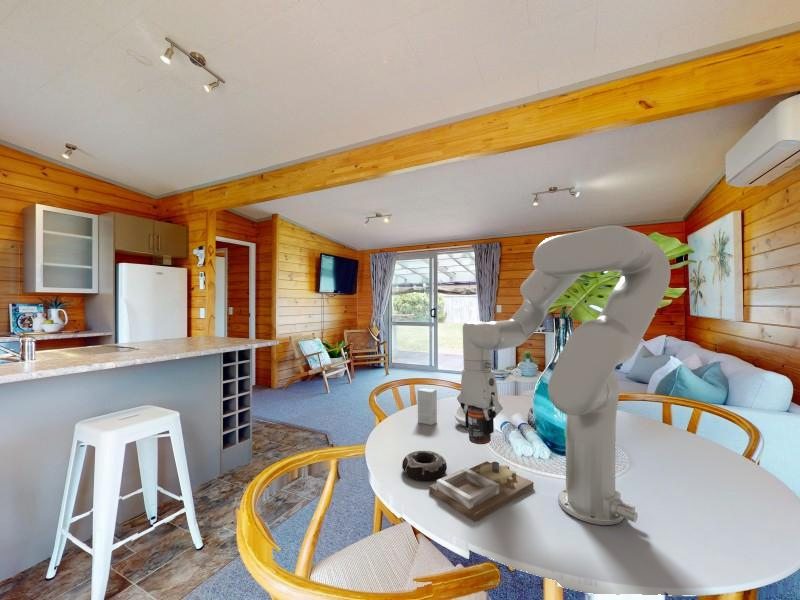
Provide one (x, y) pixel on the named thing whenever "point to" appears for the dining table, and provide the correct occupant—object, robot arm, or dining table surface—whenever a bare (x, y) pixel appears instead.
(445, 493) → the gear board
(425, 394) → the skincare box
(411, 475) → the donut
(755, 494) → the dining table surface
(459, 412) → the spoon rest
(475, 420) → the supplement bottle
